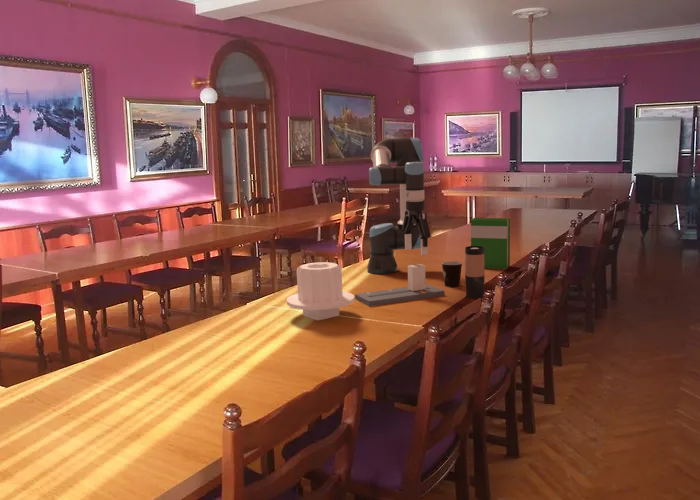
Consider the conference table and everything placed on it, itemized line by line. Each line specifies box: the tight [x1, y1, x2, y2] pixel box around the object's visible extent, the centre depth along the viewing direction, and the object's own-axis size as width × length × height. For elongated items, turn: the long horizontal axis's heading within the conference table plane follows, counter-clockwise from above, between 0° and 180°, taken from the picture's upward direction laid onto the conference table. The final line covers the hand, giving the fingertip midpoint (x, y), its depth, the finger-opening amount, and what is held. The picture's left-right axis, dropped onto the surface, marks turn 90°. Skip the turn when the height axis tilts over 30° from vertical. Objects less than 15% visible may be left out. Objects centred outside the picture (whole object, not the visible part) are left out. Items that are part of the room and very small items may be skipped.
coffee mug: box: [441, 260, 463, 288], centre depth 272 cm, size 12×9×10 cm
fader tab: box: [407, 263, 426, 291], centre depth 256 cm, size 4×6×10 cm
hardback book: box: [470, 217, 511, 270], centre depth 307 cm, size 18×7×24 cm, turn 65°
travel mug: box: [464, 245, 485, 299], centre depth 250 cm, size 8×8×20 cm
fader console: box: [354, 283, 445, 307], centre depth 254 cm, size 14×34×2 cm, turn 113°
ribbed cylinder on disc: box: [286, 261, 355, 321], centre depth 230 cm, size 25×25×19 cm
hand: (416, 252), depth 255 cm, fingers open, 13 cm apart
